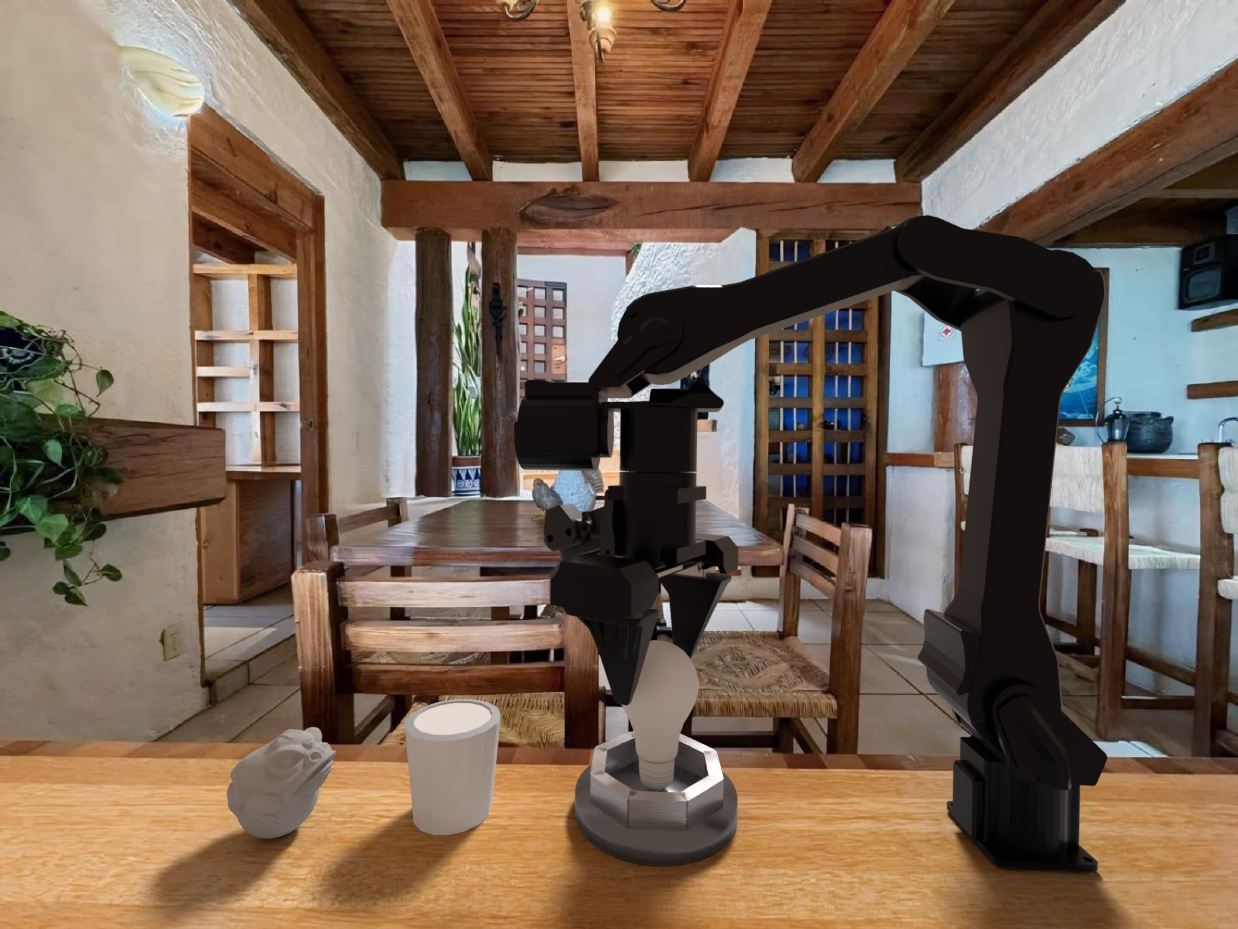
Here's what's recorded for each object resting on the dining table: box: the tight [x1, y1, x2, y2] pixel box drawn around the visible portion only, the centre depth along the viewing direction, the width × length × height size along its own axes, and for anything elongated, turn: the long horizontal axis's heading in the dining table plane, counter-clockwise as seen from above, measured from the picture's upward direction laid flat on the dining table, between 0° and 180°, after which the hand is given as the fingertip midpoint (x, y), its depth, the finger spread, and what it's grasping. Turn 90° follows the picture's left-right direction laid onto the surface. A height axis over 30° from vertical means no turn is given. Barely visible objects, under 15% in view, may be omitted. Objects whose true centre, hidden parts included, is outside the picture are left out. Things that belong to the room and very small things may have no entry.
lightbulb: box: [621, 639, 700, 791], centre depth 43 cm, size 6×6×11 cm
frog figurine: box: [226, 726, 337, 840], centre depth 40 cm, size 6×7×7 cm
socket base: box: [574, 731, 739, 867], centre depth 43 cm, size 12×12×4 cm
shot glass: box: [404, 698, 502, 836], centre depth 42 cm, size 7×7×7 cm
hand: (655, 681), depth 43 cm, fingers open, 9 cm apart
